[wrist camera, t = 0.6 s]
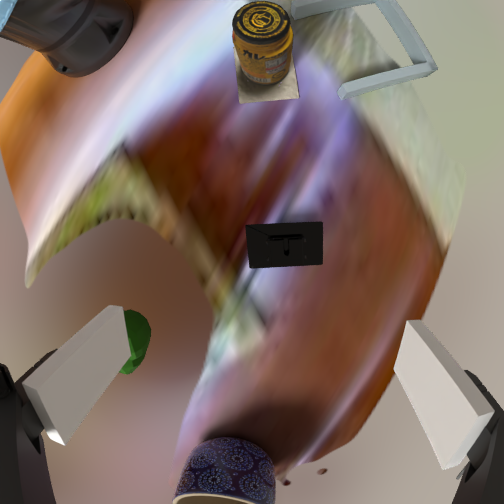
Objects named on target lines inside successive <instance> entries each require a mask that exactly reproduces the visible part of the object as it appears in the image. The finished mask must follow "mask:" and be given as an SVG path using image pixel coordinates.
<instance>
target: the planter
mask: <svg viewBox="0 0 504 504" xmlns="http://www.w3.org/2000/svg"><path fill="white" fill-rule="evenodd" d="M275 488H276V480H275V469H274V465H273V462H272V460H271V458H270V457H269V455H268V454H267V453H266V452H265V451H264V450H263V449H262V448H260V447H259V446H257V445H256V444H254V443H252V442H249V441H247V440H243V439H239V438H233V437H219V438H214V439H210V440H207V441H205V442H203V443H201V444H199V445H198V446H197V447H195V448H194V449H193V450H192V452H191V453H190V455H189V456H188V458H187V460H186V462H185V465H184V467H183V469H182V472H181V475H180V477H179V480H178V483H177V486H176V489H175V492H174V496H173V500H172V504H275V493H276V490H275Z"/></svg>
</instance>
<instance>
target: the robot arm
mask: <svg viewBox="0 0 504 504" xmlns="http://www.w3.org/2000/svg"><path fill="white" fill-rule="evenodd" d="M132 24H133V12H132V9H131V7H130V6H129V4H128V3H127V2H126V1H125V0H0V37H2V38H4V39H7V40H10V41H13V42H16V43H18V44H21V45H23V46H26V47H29V48H31V49H34V50H36V51H39V52H41V53H42V55H43V56H44V57H45V58H46V60H47V61H48V62H49V63H50V64H51V66H52V67H53V68H54V69H55V70H56V71H57V72H59V73H61V74H64V75H66V76H69V77H82V76H86V75H88V74H91V73H93V72H95V71H96V70H98V69H100V68H101V67H102V66H104V65H105V64H106V63H107V62H109V61H110V60H111V59H112V58H113V57H114V56H115V55H116V53H117V52H118V51H119V50H120V49H121V47H122V46H123V44H124V43H125V41H126V40H127V38H128V36H129V34H130V31H131V28H132ZM130 356H131V352H130V347H129V341H128V336H127V330H126V325H125V318H124V312H123V307H121V306H114V305H109V306H107V307H106V308H105V309H104V310H103V311H102V312H100V313H99V314H98V315H97V316H96V317H95V318H93V319H92V320H91V321H90V322H89V323H87V324H86V325H85V326H84V327H83V328H82V329H81V330H80V331H78V332H77V333H76V334H75V335H74V336H73V337H71V338H70V339H69V340H68V341H67V342H66V343H65V344H64V345H63V346H61V347H60V348H59V349H55V350H53V351H51V352H49V353H47V354H46V355H45V356H44V357H43V358H41V359H40V361H38V362H37V363H36V364H35V365H34V367H31V368H30V369H29V370H28V371H27V372H26V373H25V374H24V375H23V376H22V377H20V378H19V379H18V380H17V381H16V382H15V383H14V381H13V379H12V377H11V375H10V372H9V370H8V368H7V367H6V365H4V364H1V363H0V504H56V501H55V498H54V494H53V489H52V485H51V481H50V476H49V471H48V466H47V461H46V455H45V448H44V442H43V438H42V436H41V434H40V433H41V432H42V431H43V429H45V430H46V432H47V434H48V436H49V437H50V439H52V440H54V441H56V442H58V443H60V444H63V445H66V444H67V443H68V441H69V440H70V438H71V437H72V435H73V434H74V433H75V431H76V430H77V428H78V427H79V425H80V424H81V423H82V421H83V420H84V419H85V417H86V416H87V414H88V413H89V411H90V410H91V409H92V407H93V406H94V405H95V403H96V402H97V401H98V399H99V398H100V397H101V395H102V393H103V392H104V391H105V390H106V388H107V387H108V386H109V384H110V383H111V382H112V380H113V379H114V378H115V376H116V375H117V373H118V372H119V371H120V369H121V368H122V367H123V365H124V364H125V363H126V362H127V360H128V359H129V358H130ZM394 371H395V373H396V375H397V376H398V379H399V381H400V382H401V384H402V386H403V388H404V390H405V392H406V394H407V396H408V398H409V400H410V402H411V404H412V406H413V408H414V410H415V412H416V414H417V416H418V418H419V420H420V422H421V424H422V426H423V428H424V431H425V433H426V435H427V437H428V439H429V441H430V443H431V446H432V448H433V450H434V452H435V455H436V457H437V459H438V461H439V464H440V466H441V468H442V470H445V469H448V468H451V467H454V466H457V465H459V464H460V463H461V461H462V460H463V459H464V457H465V456H466V455H467V456H468V458H469V460H470V461H469V462H468V464H467V465H466V466H465V467H464V469H463V470H462V471H461V472H460V473H459V475H458V476H457V478H456V479H459V478H460V477H461V475H463V476H462V479H461V481H460V484H459V487H458V489H457V492H456V494H455V497H454V499H453V502H452V504H504V411H503V409H502V408H501V407H500V405H499V404H498V403H497V402H496V400H495V399H494V398H493V396H492V395H491V394H490V392H487V389H486V387H485V386H484V385H482V382H481V381H480V380H479V379H478V378H477V377H476V375H474V374H472V373H471V372H470V371H468V370H463V369H462V368H461V367H460V365H459V364H458V363H457V362H456V360H455V359H454V358H453V357H452V355H451V354H450V353H449V352H448V351H447V350H446V348H445V347H444V346H443V345H442V344H441V342H440V341H439V340H438V339H437V338H436V337H435V336H434V334H433V333H432V332H431V331H430V330H429V329H428V328H427V326H426V325H425V324H424V323H423V322H422V321H421V320H407V323H406V327H405V331H404V335H403V338H402V342H401V346H400V349H399V353H398V356H397V359H396V363H395V366H394Z"/></svg>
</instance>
